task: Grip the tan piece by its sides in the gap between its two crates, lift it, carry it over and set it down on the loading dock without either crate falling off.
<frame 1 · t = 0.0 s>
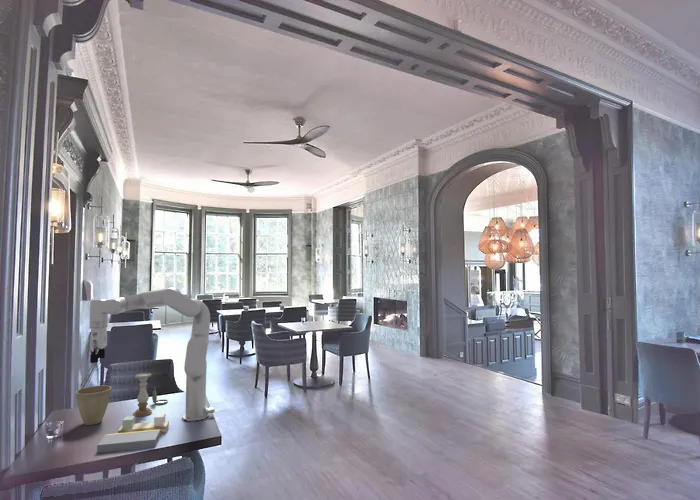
hand: (97, 360, 198), 31 cm above the table, tool pointing down, fingers open, 9 cm apart
loading dock: (129, 444, 177), on the table
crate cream: (159, 424, 191), point 3 cm above the table
tan piece: (144, 433, 189), on the table, touching crate sage
pocket watch: (158, 403, 230), on the table
crate sage: (128, 426, 188), point 3 cm above the table, touching tan piece
candle holder: (142, 414, 213), on the table
plant pot: (92, 422, 202), on the table
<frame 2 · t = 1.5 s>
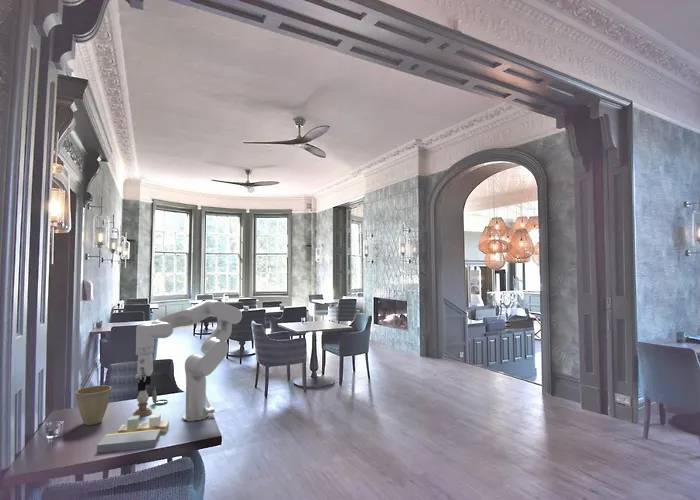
hand: (144, 387, 190), 20 cm above the table, tool pointing down, fingers open, 9 cm apart
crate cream: (154, 424, 191), point 3 cm above the table, touching tan piece
tan piece: (144, 433, 189), on the table, touching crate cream
crate sage: (133, 426, 188), point 3 cm above the table
everything else where it was.
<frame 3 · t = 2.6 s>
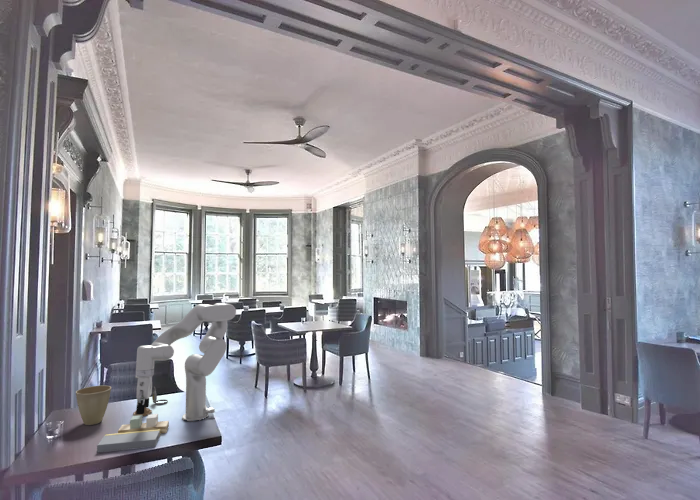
hand: (142, 410, 189), 10 cm above the table, tool pointing down, fingers open, 9 cm apart
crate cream: (152, 424, 190), point 3 cm above the table, touching tan piece
tan piece: (144, 433, 189), on the table, touching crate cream, crate sage
crate sage: (136, 426, 189), point 3 cm above the table, touching tan piece
everything else where it was.
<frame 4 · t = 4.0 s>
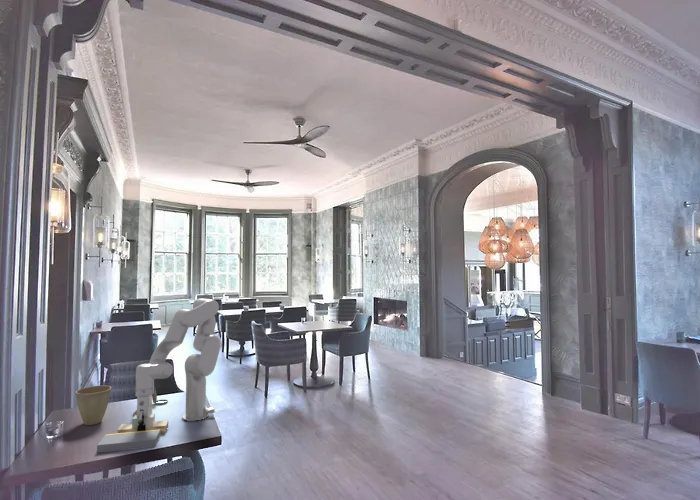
hand: (143, 430, 189), 1 cm above the table, tool pointing down, fingers closed on tan piece, 7 cm apart
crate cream: (149, 424, 190), point 3 cm above the table, touching tan piece
tan piece: (143, 432, 189), on the table, touching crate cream, crate sage, gripper
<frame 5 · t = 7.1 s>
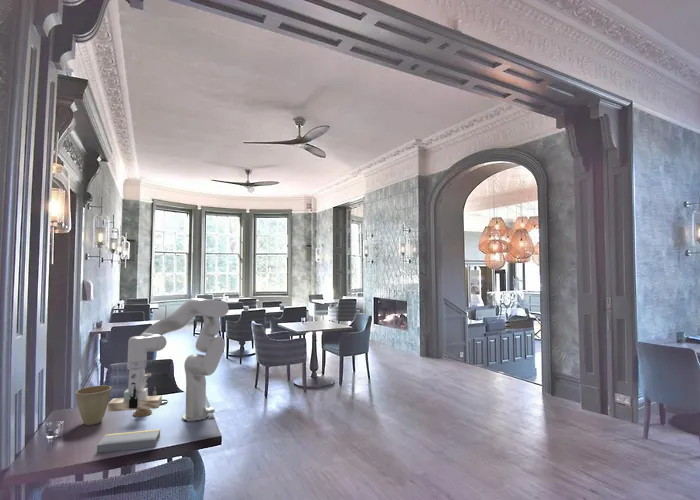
hand: (135, 405, 182), 15 cm above the table, tool pointing down, fingers closed on tan piece, 7 cm apart
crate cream: (141, 398, 182), point 18 cm above the table, touching tan piece
tan piece: (135, 407, 182), point 14 cm above the table, touching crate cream, crate sage, gripper
crate sage: (130, 399, 181), point 18 cm above the table, touching tan piece
everything else where it was.
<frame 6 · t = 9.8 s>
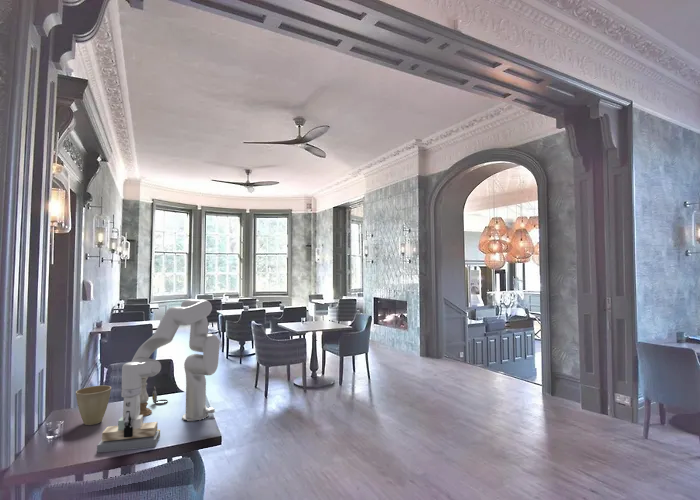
hand: (130, 433, 177), 5 cm above the table, tool pointing down, fingers closed on tan piece, 7 cm apart
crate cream: (136, 426, 178), point 7 cm above the table, touching tan piece
tan piece: (130, 435, 177), point 4 cm above the table, touching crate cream, crate sage, gripper
crate sage: (124, 427, 176), point 7 cm above the table, touching tan piece
everything else where it was.
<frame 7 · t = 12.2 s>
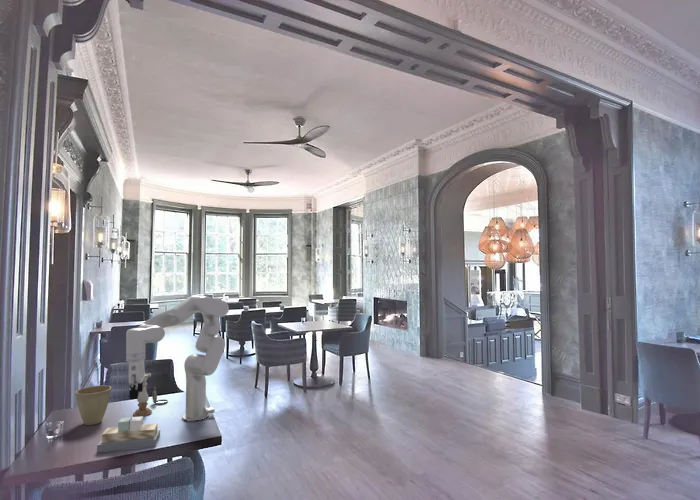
hand: (136, 395, 182), 20 cm above the table, tool pointing down, fingers open, 9 cm apart
tan piece: (130, 436, 177), point 3 cm above the table, touching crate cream, crate sage, loading dock
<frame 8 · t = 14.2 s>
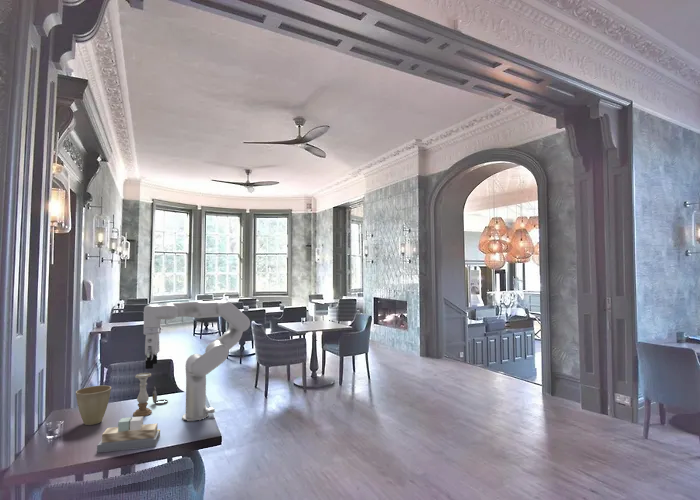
hand: (151, 366, 199), 28 cm above the table, tool pointing down, fingers open, 9 cm apart
nothing on the table moved.
at the end: tan piece inside the target area (0.2 cm from its centre), point 3.0 cm above the table; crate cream point 6.5 cm above the table; crate sage point 6.5 cm above the table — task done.
